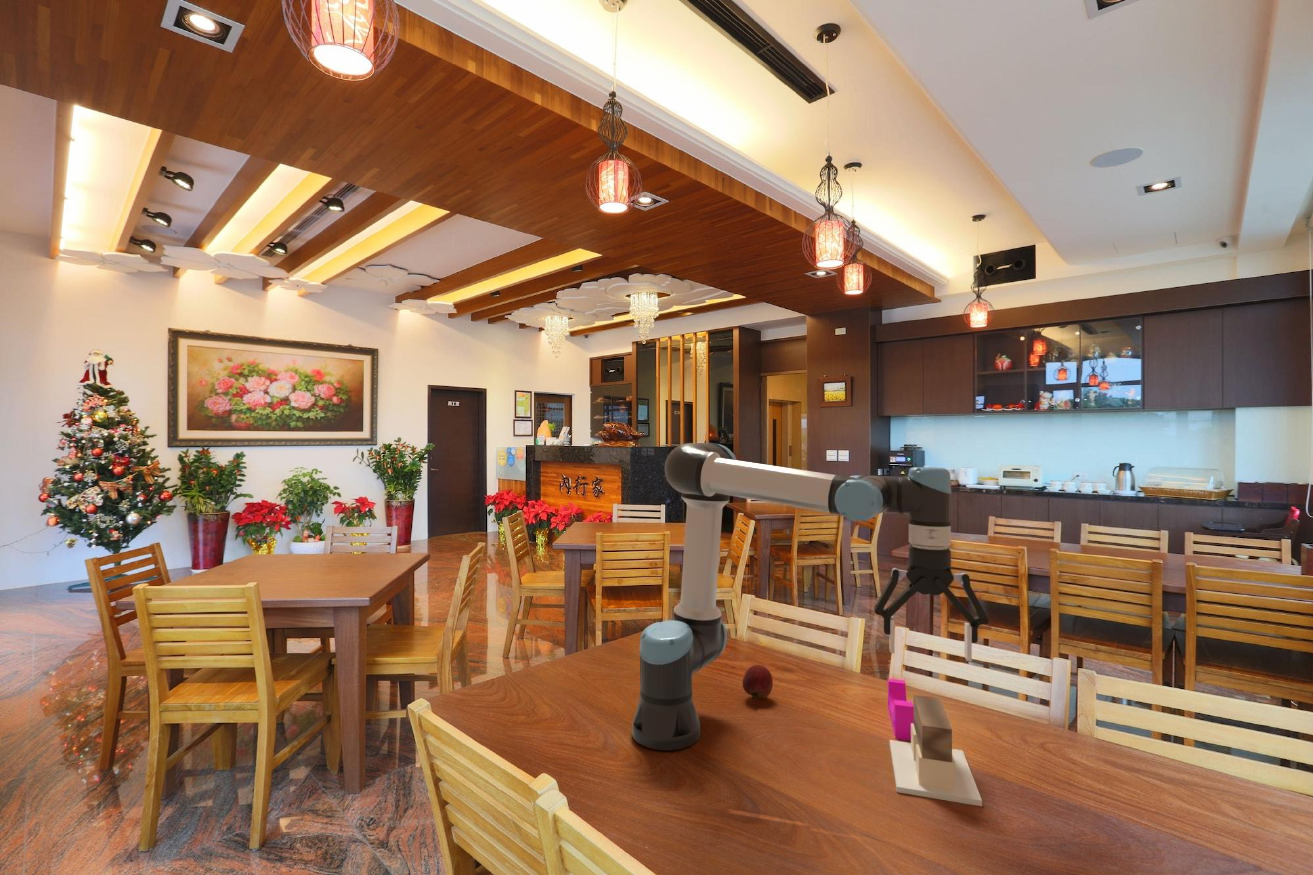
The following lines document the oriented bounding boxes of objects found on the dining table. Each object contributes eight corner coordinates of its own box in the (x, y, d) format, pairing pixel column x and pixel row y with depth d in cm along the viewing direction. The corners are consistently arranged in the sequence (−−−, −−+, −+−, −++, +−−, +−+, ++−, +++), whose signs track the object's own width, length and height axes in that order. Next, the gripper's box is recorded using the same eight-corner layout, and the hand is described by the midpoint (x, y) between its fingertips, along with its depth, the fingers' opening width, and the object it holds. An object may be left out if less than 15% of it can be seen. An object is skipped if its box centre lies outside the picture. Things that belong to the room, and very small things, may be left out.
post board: (896, 791, 108) (896, 759, 109) (889, 744, 126) (889, 716, 126) (982, 806, 104) (982, 772, 104) (962, 755, 121) (962, 725, 121)
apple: (779, 698, 148) (779, 666, 148) (756, 706, 144) (756, 673, 144) (758, 688, 154) (758, 658, 154) (736, 695, 150) (736, 664, 150)
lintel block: (922, 758, 109) (922, 725, 109) (913, 723, 122) (913, 694, 122) (952, 762, 107) (952, 729, 108) (940, 727, 121) (940, 697, 121)
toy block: (926, 743, 127) (926, 708, 127) (895, 739, 128) (895, 704, 128) (915, 712, 141) (915, 681, 141) (887, 709, 143) (887, 678, 143)
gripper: (862, 545, 116) (862, 653, 116) (1006, 553, 108) (1006, 669, 108) (861, 539, 123) (861, 641, 123) (996, 546, 115) (996, 655, 115)
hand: (929, 655), depth 115 cm, fingers open, 13 cm apart
